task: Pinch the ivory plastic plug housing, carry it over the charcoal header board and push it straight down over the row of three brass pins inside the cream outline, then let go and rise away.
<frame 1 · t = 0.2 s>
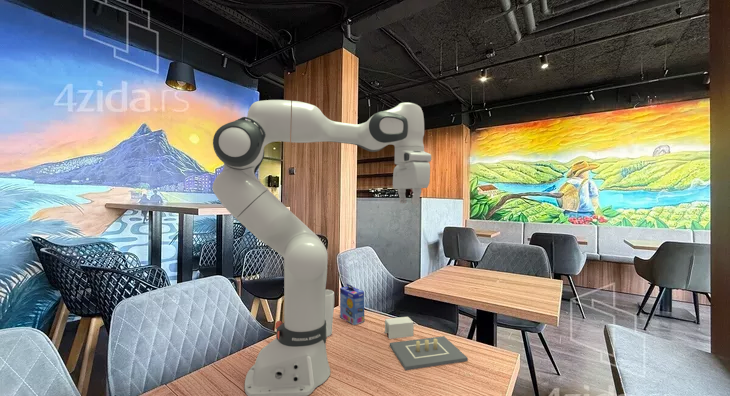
hand: (408, 203, 89), 47 cm above the table, tool pointing down, fingers open, 8 cm apart
header board: (426, 353, 93), on the table
plug housing: (398, 334, 105), on the table
ink cartridge box: (351, 320, 117), on the table
drinking glass: (324, 334, 105), on the table
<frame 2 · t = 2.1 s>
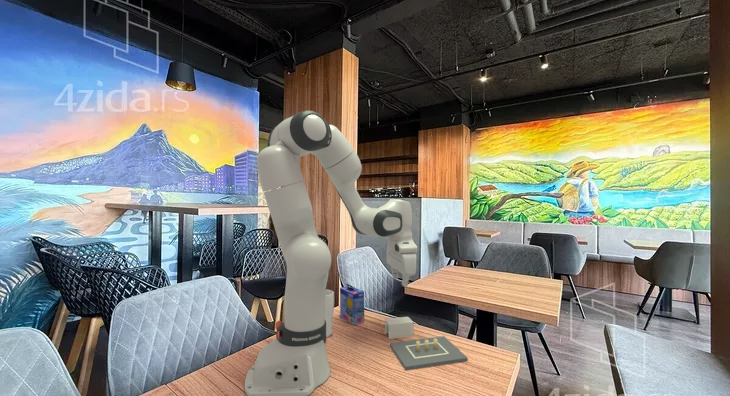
hand: (399, 282, 105), 19 cm above the table, tool pointing down, fingers open, 8 cm apart
nothing on the table moved.
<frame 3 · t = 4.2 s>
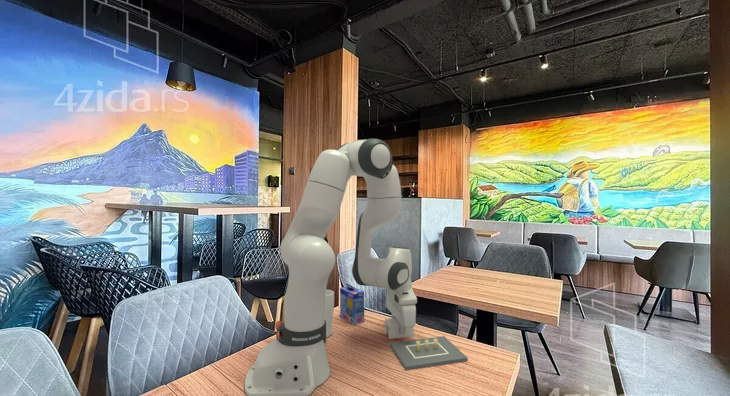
hand: (398, 329, 105), 2 cm above the table, tool pointing down, fingers closed on plug housing, 5 cm apart
plug housing: (398, 334, 105), on the table, touching gripper
everything else where it was.
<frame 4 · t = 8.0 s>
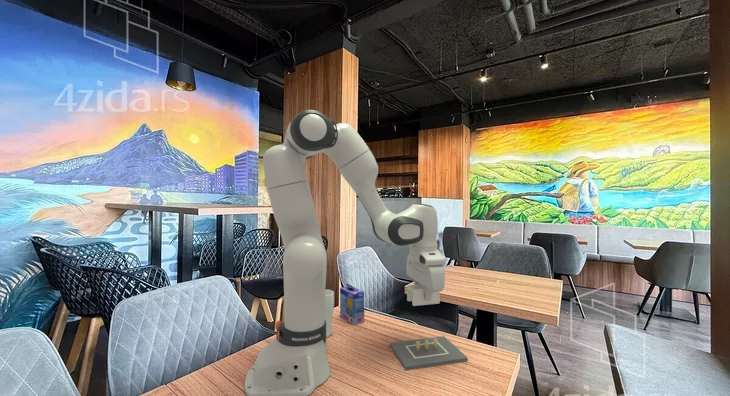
hand: (423, 296, 94), 17 cm above the table, tool pointing down, fingers closed on plug housing, 5 cm apart
plug housing: (423, 301, 95), point 16 cm above the table, touching gripper
everything else where it was.
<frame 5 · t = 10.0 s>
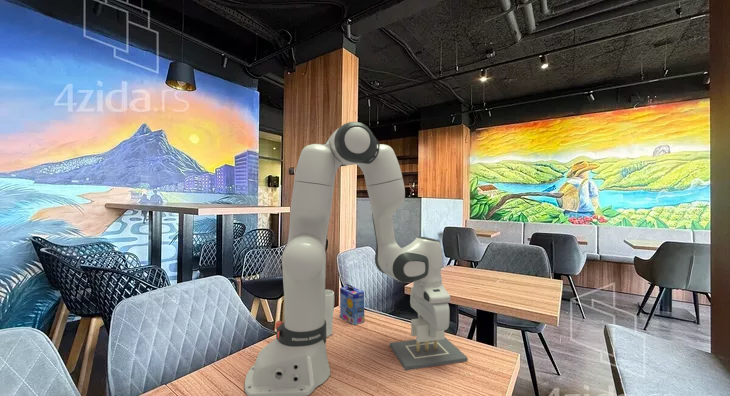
hand: (427, 331, 93), 7 cm above the table, tool pointing down, fingers closed on plug housing, 5 cm apart
plug housing: (427, 336, 93), point 5 cm above the table, touching gripper
everything else where it was.
when the fingers open (3 cm above the table, at t = 11.8 s): plug housing stays where it is, resting on header board.
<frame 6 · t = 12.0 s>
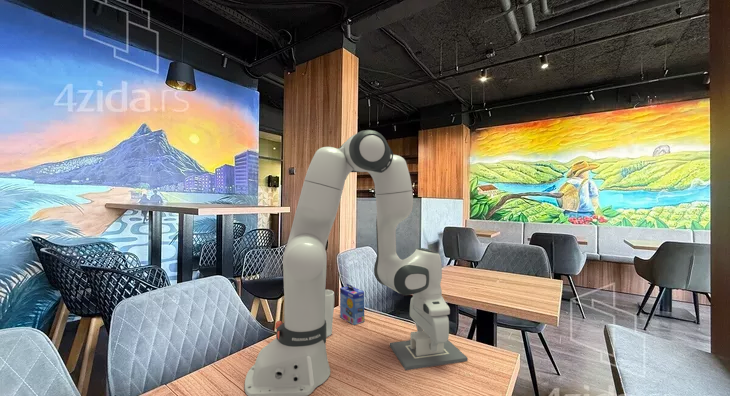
hand: (426, 343, 93), 3 cm above the table, tool pointing down, fingers open, 7 cm apart
plug housing: (426, 349, 93), point 1 cm above the table, touching header board
everything else where it was.
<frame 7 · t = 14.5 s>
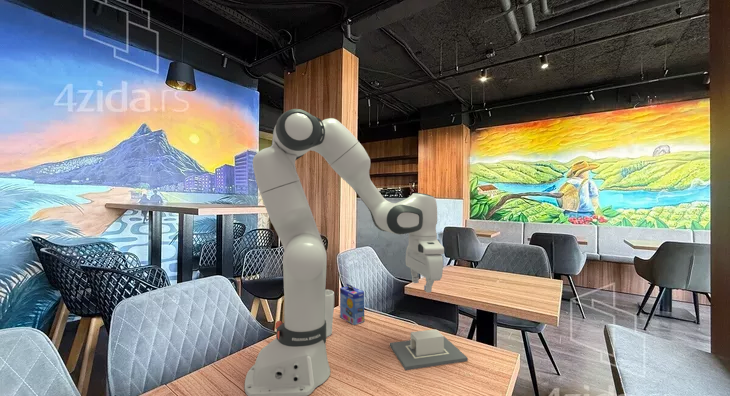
hand: (421, 287, 94), 21 cm above the table, tool pointing down, fingers open, 8 cm apart
nothing on the table moved.
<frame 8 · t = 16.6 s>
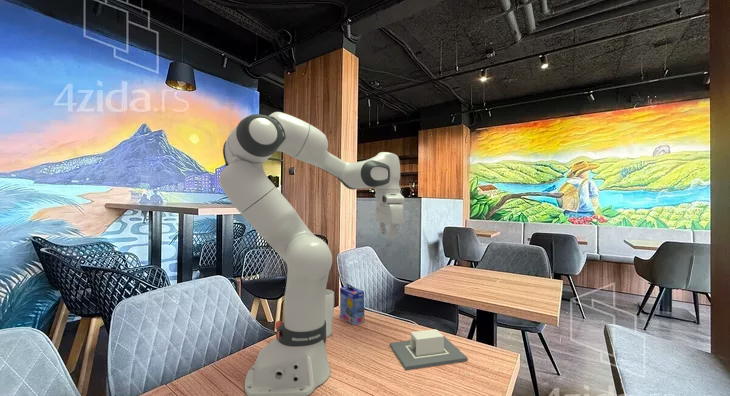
hand: (387, 236, 106), 35 cm above the table, tool pointing down, fingers open, 8 cm apart
nothing on the table moved.
at the end: plug housing 0.0 cm off-centre on the header board, point 1.0 cm above the header board's base; plug housing tilted 0°; the gripper is holding nothing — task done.
